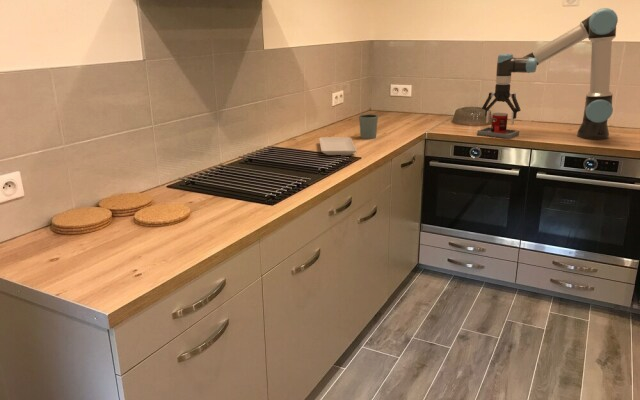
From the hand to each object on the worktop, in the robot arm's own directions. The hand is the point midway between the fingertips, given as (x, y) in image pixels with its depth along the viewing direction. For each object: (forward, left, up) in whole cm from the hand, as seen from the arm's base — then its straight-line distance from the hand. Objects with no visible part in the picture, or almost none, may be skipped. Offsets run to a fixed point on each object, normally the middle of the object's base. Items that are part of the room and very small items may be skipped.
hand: (499, 123), depth 286 cm
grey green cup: (+54, +47, -7) cm, 72 cm away
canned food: (0, 0, -6) cm, 6 cm away
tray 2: (0, 0, -6) cm, 6 cm away
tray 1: (+51, +80, -7) cm, 95 cm away
